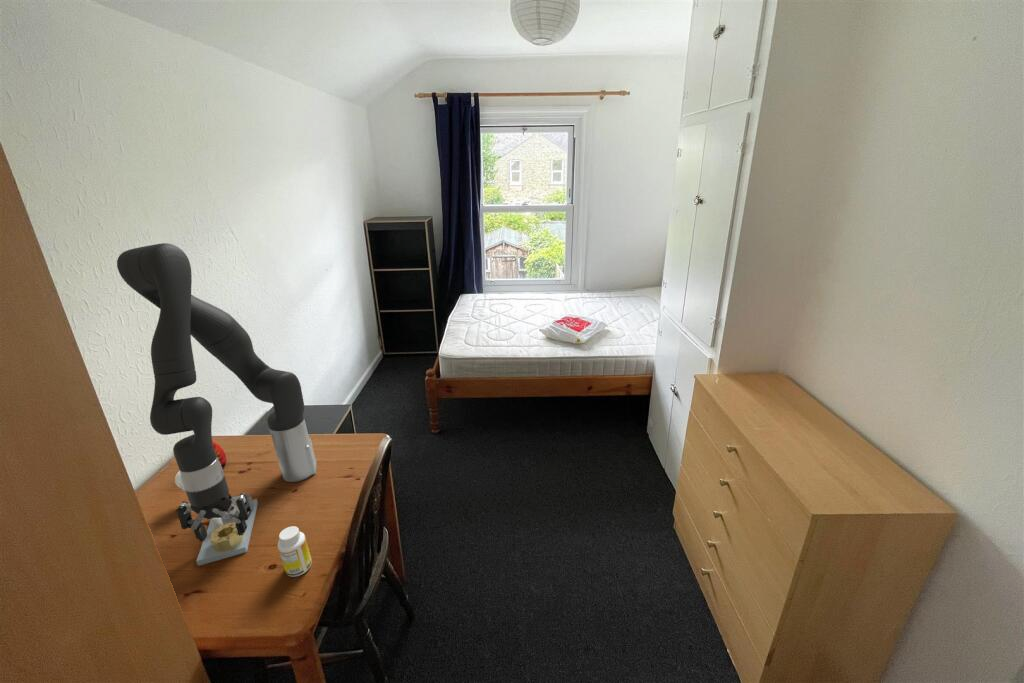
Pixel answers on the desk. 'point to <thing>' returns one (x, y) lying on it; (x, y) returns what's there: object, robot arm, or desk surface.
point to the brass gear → (225, 538)
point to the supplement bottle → (294, 551)
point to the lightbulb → (179, 481)
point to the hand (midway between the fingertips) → (223, 535)
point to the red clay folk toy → (220, 454)
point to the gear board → (237, 550)
